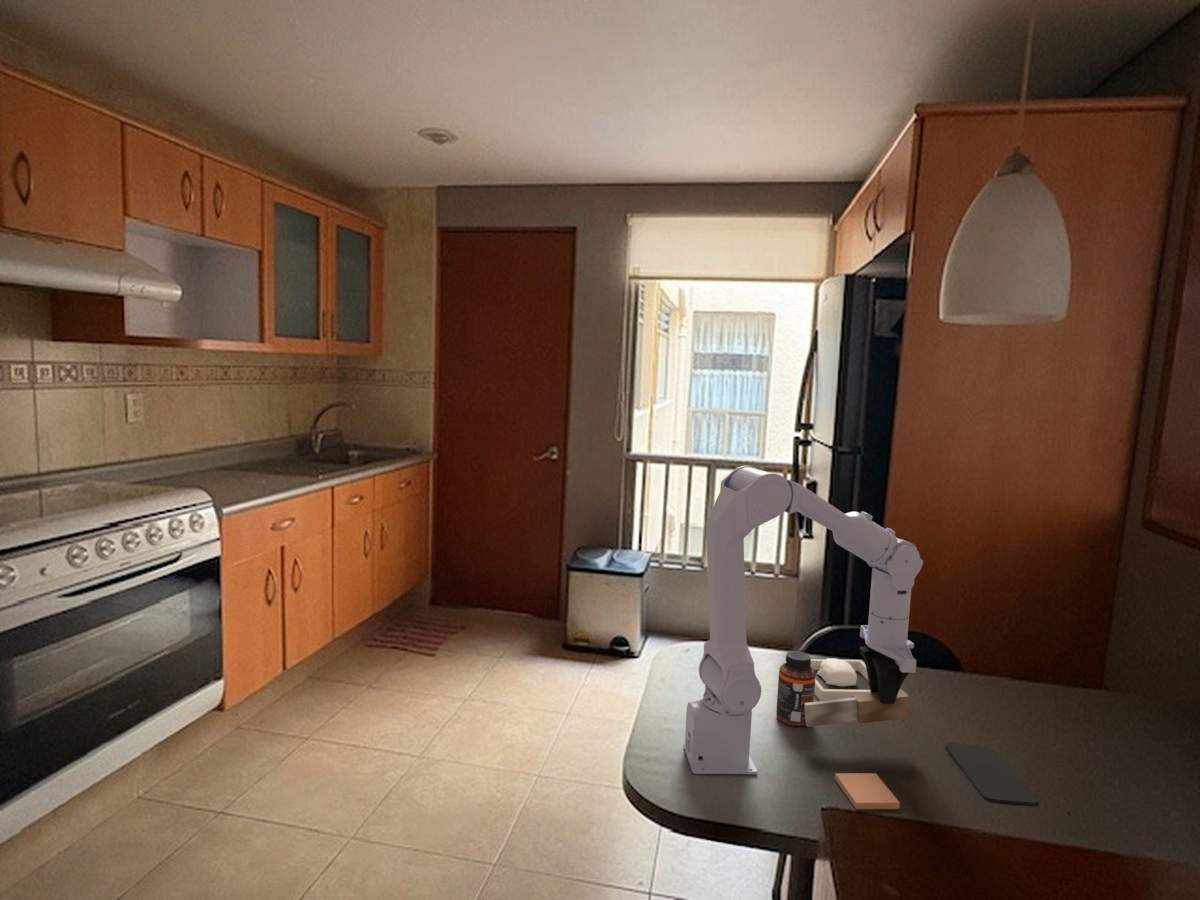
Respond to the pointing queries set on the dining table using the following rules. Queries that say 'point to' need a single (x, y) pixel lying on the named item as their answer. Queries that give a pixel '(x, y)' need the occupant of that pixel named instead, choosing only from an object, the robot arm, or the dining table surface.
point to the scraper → (857, 709)
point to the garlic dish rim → (838, 693)
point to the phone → (990, 774)
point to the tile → (866, 791)
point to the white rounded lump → (837, 673)
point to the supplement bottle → (795, 688)
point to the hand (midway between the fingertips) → (882, 698)
